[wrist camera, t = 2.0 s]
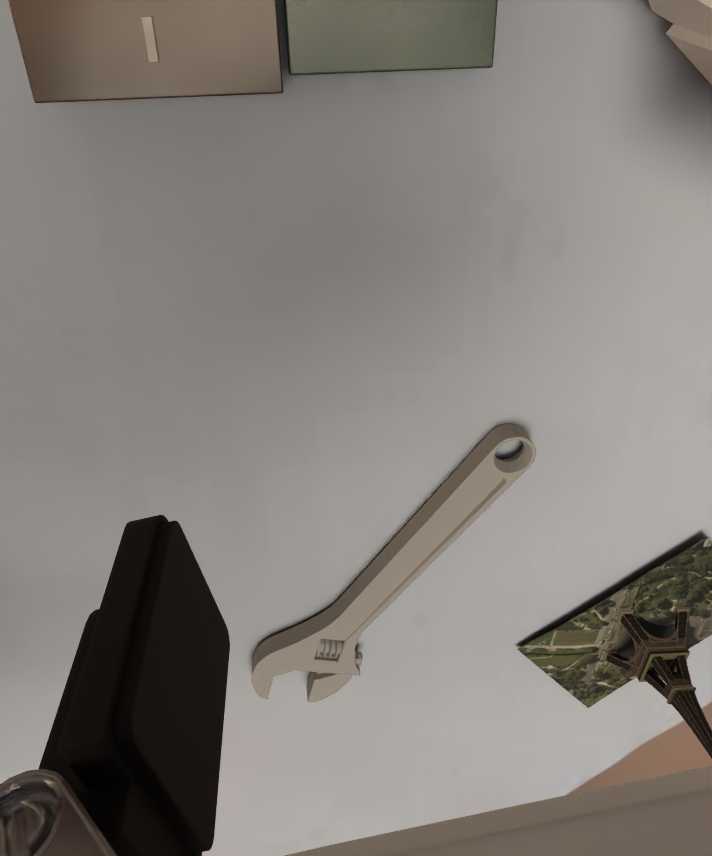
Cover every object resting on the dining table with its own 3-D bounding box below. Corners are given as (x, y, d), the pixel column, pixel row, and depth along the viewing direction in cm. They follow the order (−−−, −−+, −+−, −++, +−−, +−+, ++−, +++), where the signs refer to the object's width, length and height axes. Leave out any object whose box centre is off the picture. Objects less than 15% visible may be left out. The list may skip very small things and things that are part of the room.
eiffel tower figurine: (703, 526, 43) (857, 708, 31) (762, 601, 47) (916, 784, 36) (515, 644, 47) (591, 842, 36) (586, 703, 51) (674, 894, 40)
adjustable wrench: (504, 412, 37) (514, 428, 35) (574, 469, 39) (586, 486, 38) (237, 663, 45) (236, 686, 43) (310, 696, 48) (311, 718, 46)
